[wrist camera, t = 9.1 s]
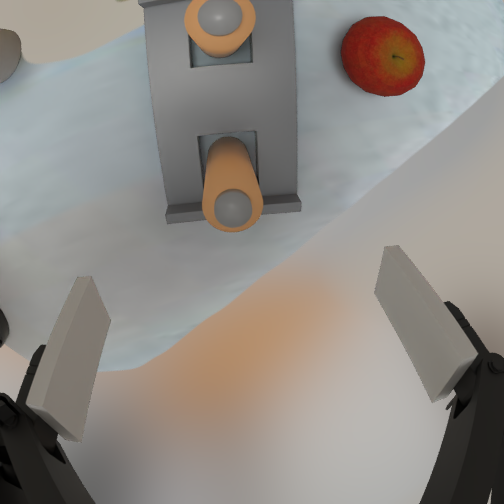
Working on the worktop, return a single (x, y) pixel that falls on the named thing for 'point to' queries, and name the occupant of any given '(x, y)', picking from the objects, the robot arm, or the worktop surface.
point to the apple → (382, 56)
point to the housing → (223, 94)
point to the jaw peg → (230, 187)
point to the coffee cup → (9, 53)
